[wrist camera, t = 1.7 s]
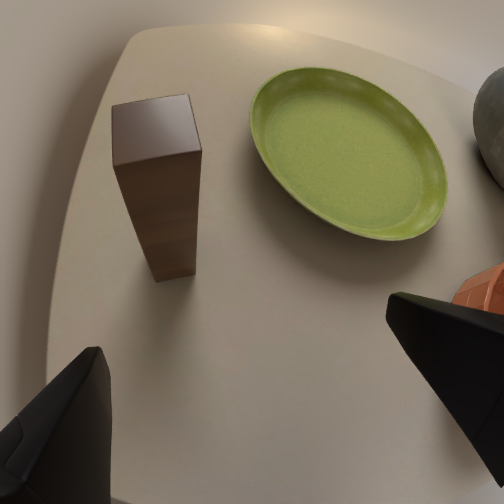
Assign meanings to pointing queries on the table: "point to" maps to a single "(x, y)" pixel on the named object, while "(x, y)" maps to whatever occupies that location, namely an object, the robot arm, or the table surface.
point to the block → (160, 179)
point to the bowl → (491, 123)
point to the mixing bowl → (484, 291)
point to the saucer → (349, 153)
